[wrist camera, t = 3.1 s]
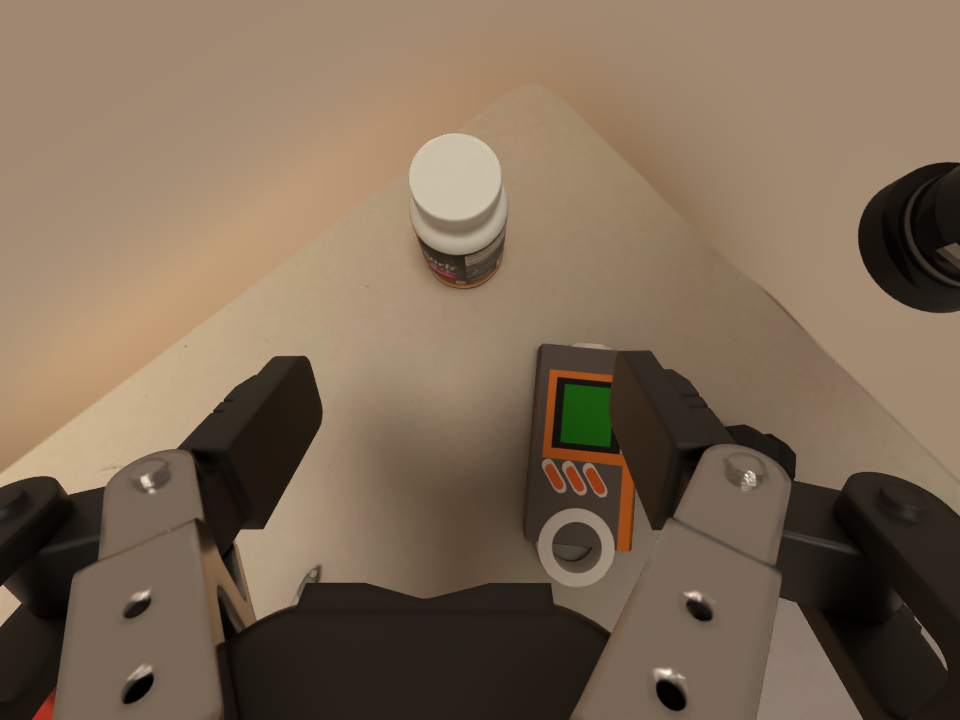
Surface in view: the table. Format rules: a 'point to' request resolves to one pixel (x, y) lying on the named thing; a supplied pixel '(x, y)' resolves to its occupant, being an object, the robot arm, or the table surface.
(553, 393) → the electronic device
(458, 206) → the pill bottle
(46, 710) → the ball
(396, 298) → the table surface
